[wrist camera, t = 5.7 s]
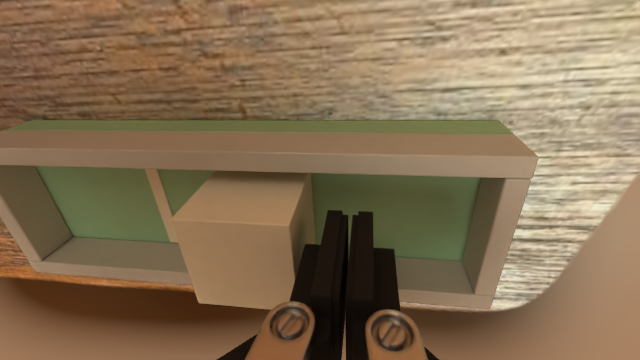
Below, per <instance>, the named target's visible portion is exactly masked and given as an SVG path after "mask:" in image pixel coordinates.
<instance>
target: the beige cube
mask: <svg viewBox="0 0 640 360" xmlns="http://www.w3.org/2000/svg"><path fill="white" fill-rule="evenodd" d="M171 223H172V226H173V229H174V231H175V234H176V237H177V240H178V243H179V246H180V249H181V252H182V255H183V258H184V261H185V264H186V267H187V270H188V273H189V276H190V279H191V282H192V285H193V288H194V291H195V294H196V297H197V299H198V302H199V303H206V304H217V305H229V306H239V307H250V308H262V309H273V308H274V307H276V306H277V305H279V304H281V303H283V302H289V301H290V297H291V293H292V290H293V286H294V282H295V279H296V275H297V271H298V268H299V264H300V260H301V257H302V253H303V249H304V246H305V244H315V227H314V212H313V197H312V182H311V173H291V172H253V171H215V172H214V173H213V174H212V175H211V176H210V177H209V178H208V180H207V181H206V182H205V183H204V184H203V185H202V186H201V187H200V188H199V189H198V190H197V191H196V192H195V194H194V195H193V196H192V197H191V198H190V199H189V200H188V201H187V202H186V203H185V204H184V205H183V206H182V208H181V209H180V210H179V211H178V212H177V213H176V214H175V215H174V216H173V217H172V218H171Z"/></svg>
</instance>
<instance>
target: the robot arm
mask: <svg viewBox="0 0 640 360" xmlns="http://www.w3.org/2000/svg"><path fill="white" fill-rule="evenodd" d="M345 309H346V360H439V359H437V358H436V357H435V356H434V355H433V354H432V353H431V352H430V351H428V350H427V349H426V348H425V347H424V345H423V342H422V339H421V336H420V333H419V330H418V328H417V326H416V324H415V323H414V321H413V320H412V319H411V318H410V317H409V316H407V315H406V314H404V313H403V312H400V303H399V293H398V282H397V272H396V261H395V252H394V249H389V248H374V240H373V212H366V211H358V215H353V216H352V227H351V238H350V250H349V261H348V215H344V214H343V211H341V210H328V212H327V216H326V221H325V226H324V231H323V235H322V240H321V245H318V244H305V246H304V249H303V253H302V257H301V260H300V264H299V268H298V271H297V275H296V279H295V282H294V286H293V290H292V293H291V297H290V301H289V302H283V303H281V304H279V305H277V306H276V307H274V308H273V309H272V310H271V311H270V312H269V314H268V315H267V316H266V319H265V320H264V322H263V324H262V327H261V328H260V331H259V332H258V334H257V335H255V336H253V337H252V338H250V339H249V340H247V341H246V342H244V343H243V344H241V345H239V346H238V347H236V348H235V349H233V350H231V351H230V352H228V353H227V354H225V355H224V356H222V357H220V358H219V359H217V360H341V357H342V345H343V334H344V322H345Z"/></svg>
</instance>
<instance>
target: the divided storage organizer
mask: <svg viewBox="0 0 640 360" xmlns="http://www.w3.org/2000/svg"><path fill="white" fill-rule="evenodd" d="M537 161H538V156H537V155H536V154H535V153H534V152H533V151H532V150H530V149H529V148H528V147H527V146H526V145H525V144H524V143H523V142H522V141H521V140H520V139H518V138H517V137H516V136H515V135H514V134H513V133H512V132H511V131H510V130H509V129H508V128H507V127H506V126H504V125H503V124H502V123H501V122H500V121H342V120H31V121H28V122H25V123H22V124H19V125H16V126H13V127H10V128H7V129H4V130H2V131H0V218H1V220H2V221H3V223H4V224H5V226H6V227H7V229H8V230H9V232H10V233H11V235H12V236H13V238H14V239H15V241H16V242H17V244H18V246H19V247H20V249H21V250H22V252H23V253H24V255H25V256H26V258H27V259H28V260H29V263H30V264H31V266H32V267H33V269H34V270H35V272H40V273H53V274H65V275H77V276H89V277H101V278H113V279H126V280H138V281H150V282H162V283H174V284H187V285H192V282H191V279H190V276H189V273H188V270H187V267H186V264H185V261H184V258H183V255H182V252H181V249H180V246H179V243H178V240H177V237H176V234H175V231H174V229H173V226H172V223H171V218H172V217H173V216H174V215H175V214H176V213H177V212H178V211H179V210H180V209H181V208H182V206H183V205H184V204H185V203H186V202H187V201H188V200H189V199H190V198H191V197H192V196H193V195H194V194H195V192H196V191H197V190H198V189H199V188H200V187H201V186H202V185H203V184H204V183H205V182H206V181H207V180H208V178H209V177H210V176H211V175H212V174H213V173H214V172H215V171H253V172H291V173H311V182H312V197H313V212H314V227H315V244H318V245H321V240H322V235H323V231H324V226H325V221H326V216H327V212H328V210H341V211H343V214H344V215H348V261H349V250H350V238H351V227H352V216H353V215H358V211H366V212H373V240H374V248H389V249H394V252H395V261H396V272H397V282H398V293H399V302H406V303H418V304H430V305H442V306H455V307H467V308H479V309H490V308H491V305H492V302H493V298H494V294H495V291H496V288H497V285H498V282H499V279H500V276H501V273H502V269H503V266H504V263H505V260H506V257H507V254H508V251H509V247H510V244H511V241H512V238H513V235H514V232H515V229H516V226H517V222H518V219H519V216H520V213H521V210H522V207H523V204H524V201H525V197H526V194H527V191H528V188H529V185H530V182H531V180H530V179H531V178H532V177H533V174H534V171H535V167H536V164H537Z"/></svg>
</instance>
